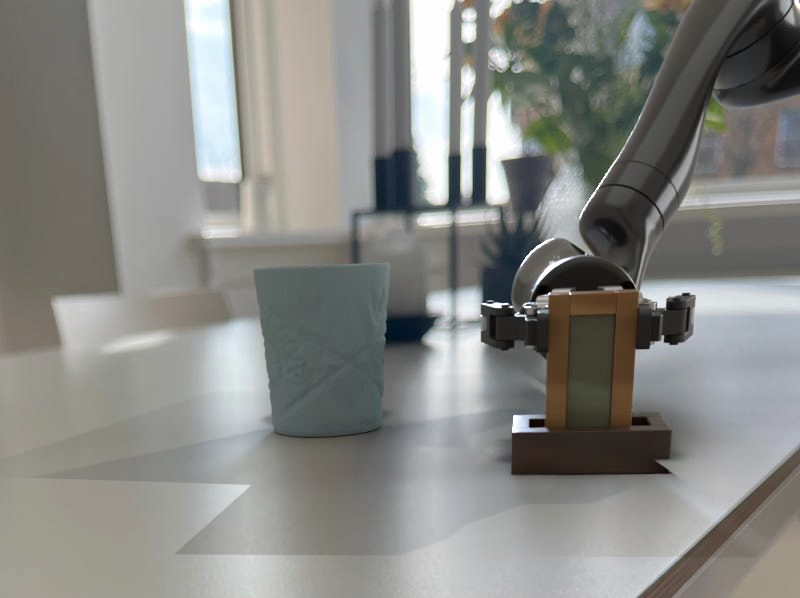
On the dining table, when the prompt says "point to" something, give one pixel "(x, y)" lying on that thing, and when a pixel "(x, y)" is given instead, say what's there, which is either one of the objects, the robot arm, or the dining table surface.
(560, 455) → the holder
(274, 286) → the pale blue-green cup
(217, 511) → the dining table surface
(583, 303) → the frame
